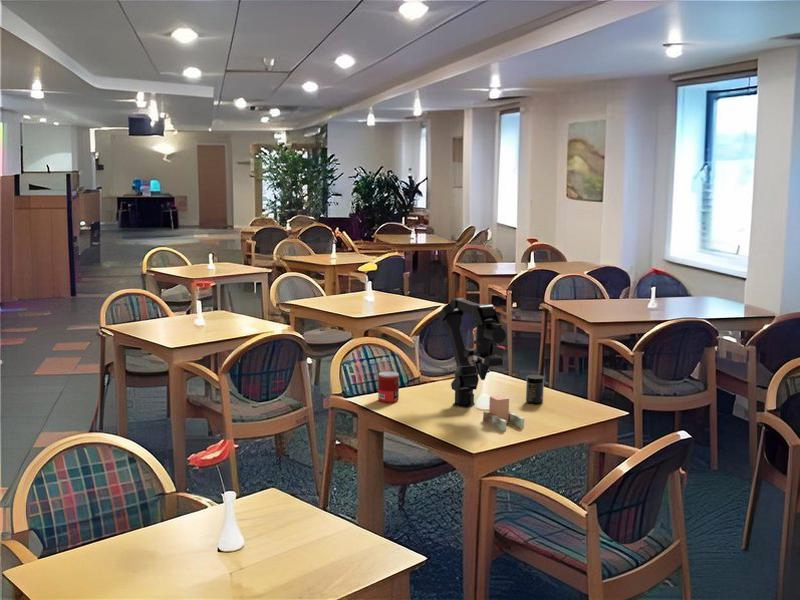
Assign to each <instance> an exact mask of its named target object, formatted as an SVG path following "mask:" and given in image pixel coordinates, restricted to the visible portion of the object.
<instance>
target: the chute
mask: <svg viewBox="0 0 800 600" xmlns="http://www.w3.org/2000/svg"><path fill="white" fill-rule="evenodd" d="M482 415H483V416H482V421H483V422H484V423H486V424H489V425H490V426H492V427H494V428H496V429H498V430H500V431H502V432H504V431H505V432H506V431H507V423H506V422H507V421H506V420H504V419H502V418H500V417H497V416H495V415H493V414H491V413H489V411H487V410H485V411H483V413H482ZM509 422H510V423H509ZM508 423H509V424H511V423H512V424H511V425H513V424H514V425H513V426H515V425H516V427H517V426H518V427H517V428H519V427H520V429H525V417H523V416H521V415H518V414H516V413H514V412H512V411H510V410H509V420H508Z"/></svg>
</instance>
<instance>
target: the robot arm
mask: <svg viewBox="0 0 800 600" xmlns="http://www.w3.org/2000/svg"><path fill="white" fill-rule="evenodd" d="M465 313H467V314H470V315H472V316H471V317H472V318H473V319H474V320H475V321H474V322H473V325H475V326H476V327H475V339H474V340H473V344H475V347H474V348H473V347H471V348H466V345H465V341H464V338H463V335H462V331H461V327H462V324H463V318H462V317H463V316H464V315H465ZM438 319H439V322H440V324H441V326H442V327H443V329H445V331H447V333H448V337H449V340H450V345H451V349H452V351H453V352H452V353H453V356H454V361H455V363H456V369H455V372H454V379H453V380H452V382H451V383H450V387H451V390H453V391H454V403H452V406H455V407H456V406H457V407H461V408H467V409H468V408H469V407H472V406H474V405H475V404H476V403H475V393H474V390H477V388H478V384H479V381H480V380H481V381H484V380H485V379H486V377H487V374H488V372H489V370H490V369H489V368H490V367H499V366H503V365H504V363H505V362H504V358H503V357H504V354H505V352H506V348H503V347H500V346H497V344H501V343H504V341H505V340H506V337H507V333H506V330H505V329H504V328H502V324H501V321H500V318H499V315H498V313H497V310H496V308H495V306H494V305H493V304H492V303H490V304H489V303H488V304H487V303H482V304H481V303H476V302H473V301H471V300H468V299H465V298H464V297H457V298H453V299H451V301H450V302H449V303H447V304H445V305H444V306H443V307H442V309H441V310H440V311H439V312H438ZM470 357H473V359H472V360H471V362H472V364H471V363H470V361H469V358H470Z"/></svg>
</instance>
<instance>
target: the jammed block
mask: <svg viewBox="0 0 800 600" xmlns="http://www.w3.org/2000/svg"><path fill="white" fill-rule="evenodd" d="M509 411H510V398H509V397H506V396H504V395H503V394H499V395H495V396H493V395H492V396H489V410H488V412H489V413H491V414H493V415H495V416H497V417H500V418H502V419H504V420H506V421H507V422H506V424H508V423H509V422H508V420H509Z"/></svg>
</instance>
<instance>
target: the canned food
mask: <svg viewBox="0 0 800 600" xmlns="http://www.w3.org/2000/svg"><path fill="white" fill-rule="evenodd" d="M377 379H378V380H377V381H378V382H377V384H378V389H377V392H378V402H380V403H382V404H395V403H398V401H399V399H400V398H399V391H400V389H399V388H400V387H399V386H400V385H399V384H400V373H399V372H397V371H387V370H386V371H381V372H379V373H378V377H377Z"/></svg>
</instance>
